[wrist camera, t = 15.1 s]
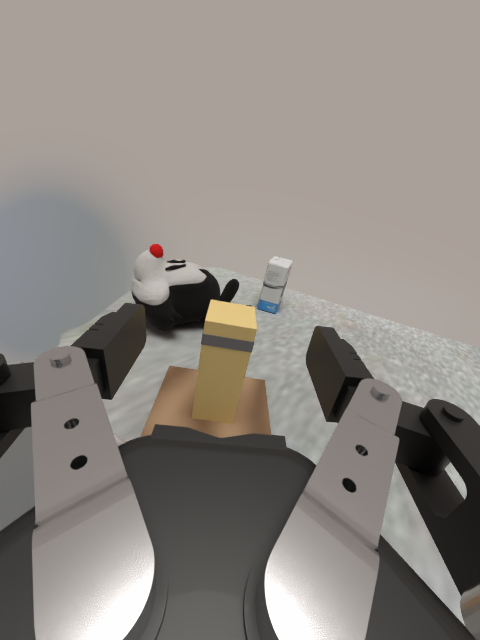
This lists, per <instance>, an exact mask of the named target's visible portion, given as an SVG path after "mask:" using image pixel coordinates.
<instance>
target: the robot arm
mask: <svg viewBox="0 0 480 640" xmlns="http://www.w3.org/2000/svg"><path fill="white" fill-rule="evenodd" d="M145 342H146V318H145V308H144V306H143V305H139V304H131V303H125V304H124V305H123V306H122V307H121V308H120V309H119V310H118V311H117V312H111V313H109V314H107V315H105V316H103V317H101V318H100V319H99V320H98V321H97V322H96V323H95V325H92V326H91V327H90V328H89V330H87V331H86V332H85V333H84V334H83V335H82V336H81V337H80V338H79V339H77V340H76V341H75V342H74V343H73V344H72V345H71V346H64V347H58V348H54V349H51V350H49V351H46V352H44V353H42V354H41V355H40V356H38V357H37V358H36V360H35V361H34V362H32V363H21V364H11V365H7V362H6V360H5V357H4V356H3V355H2V354H0V458H1V457H2V456H3V455H4V453H5V452H6V451H7V450H8V449H9V447H10V446H11V445H12V444H13V442H14V441H15V440H16V439H17V438H18V436H19V435H20V434H21V433H22V431H23V430H24V429H25V428H27V427H32V445H33V468H34V492H35V506H34V507H32V508H31V509H30V510H28V511H27V512H26V513H24V514H23V515H21V516H20V517H19V518H17V519H16V520H15V521H13V522H12V523H10V524H9V525H8V526H6V527H5V528H4V529H2V530H1V531H0V640H480V426H479V425H478V424H477V422H476V421H475V420H474V419H473V418H472V417H471V416H470V415H469V414H467V413H466V412H465V411H464V410H462V409H461V408H459V407H457V406H455V405H454V404H451V403H449V402H446V401H443V400H439V399H432V400H430V401H428V403H427V404H426V406H425V407H424V408H422V407H419V406H416V405H413V404H410V403H406V402H403V401H402V398H401V396H400V395H399V393H398V392H397V391H396V390H395V389H394V388H392V387H391V386H389V385H388V384H386V383H384V382H382V381H379V380H376V379H374V378H373V376H372V375H371V374H370V372H369V371H368V369H367V368H366V366H365V365H364V363H363V362H362V361H361V359H360V357H359V356H358V355H357V353H356V351H355V350H354V349H353V347H352V346H351V345H350V344H349V343H347V342H346V341H345V340H344V339H340V337H339V336H338V334H337V332H336V331H335V329H334V328H331V327H323V326H316V327H315V329H314V332H313V335H312V338H311V341H310V344H309V347H308V351H307V354H306V365H307V368H308V371H309V374H310V377H311V379H312V382H313V385H314V388H315V391H316V394H317V396H318V399H319V402H320V405H321V408H322V411H323V413H324V416H325V419H326V422H337V423H338V425H337V427H336V429H335V431H334V433H333V435H332V437H331V439H330V441H329V442H328V444H327V446H326V448H325V450H324V452H323V454H322V456H321V458H320V460H319V462H318V464H317V465H315V464H314V463H313V462H312V461H311V460H309V459H308V458H306V457H305V456H303V455H302V454H300V453H298V452H296V451H294V450H292V449H290V448H287V447H286V442H285V436H277V435H266V434H256V433H252V434H245V435H238V436H231V437H225V438H219V437H215V436H212V435H209V434H206V433H203V432H200V431H197V430H195V429H192V428H189V427H181V426H170V425H159V424H155V426H154V428H153V431H152V434H151V435H147V436H143V437H139V438H136V439H133V440H130V441H128V442H125V443H123V444H121V445H119V446H117V443H116V440H115V437H114V434H113V431H112V428H111V425H110V422H109V419H108V416H107V413H106V410H105V407H104V404H103V401H102V399H109V400H112V398H113V397H114V395H115V394H116V392H117V390H118V389H119V387H120V385H121V384H122V382H123V380H124V379H125V377H126V376H127V374H128V372H129V371H130V369H131V367H132V366H133V364H134V362H135V361H136V359H137V358H138V356H139V354H140V353H141V351H142V349H143V348H144V346H145ZM450 462H451V463H452V464H453V466H454V467H455V469H456V470H457V472H458V473H459V475H460V476H461V477H462V479H463V481H464V482H465V485H466V488H467V496H466V499H465V500H464V498H463V497H462V495H461V494H460V492H459V491H458V489H457V488H456V486H455V485H454V483H453V482H452V480H451V479H450V477H449V476H448V474H447V472H446V471H445V467H446V466H447V465H448V464H449V463H450ZM395 463H396V465H397V467H398V469H399V471H400V473H401V475H402V477H403V479H404V481H405V483H406V485H407V487H408V489H409V491H410V493H411V495H412V497H413V499H414V501H415V504H416V506H417V508H418V510H419V512H420V514H421V516H422V518H423V520H424V522H425V524H426V526H427V528H428V530H429V532H430V534H431V536H432V538H433V540H434V542H435V544H436V546H437V548H438V550H439V552H440V554H441V556H442V558H443V560H444V562H445V564H446V566H447V568H448V570H449V572H450V574H451V576H452V578H453V581H454V583H455V585H456V587H457V589H458V591H459V593H460V595H461V602H460V607H461V613H462V617H463V620H464V623H465V625H466V626H464V625H463V624H462V623H461V621H460V620H459V619H458V618H457V617H456V616H455V615H454V614H453V613H452V612H451V611H450V609H449V608H448V607H447V606H446V605H445V604H444V603H443V602H442V601H441V600H440V599H439V598H438V596H437V595H436V594H435V593H434V592H433V591H432V590H431V589H430V588H429V587H428V586H427V584H426V583H425V582H424V581H423V580H422V579H421V578H420V577H419V576H418V575H417V574H416V572H415V571H414V570H413V569H412V568H411V567H410V566H409V565H408V564H407V563H406V562H405V561H404V559H403V558H402V557H401V556H400V555H399V554H398V553H397V552H396V551H395V550H394V549H393V547H392V546H391V545H390V544H389V543H388V542H387V541H386V540H385V539H384V538H383V537H382V535H381V534H380V532H381V527H382V522H383V517H384V513H385V508H386V503H387V498H388V493H389V488H390V484H391V479H392V474H393V469H394V464H395Z"/></svg>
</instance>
